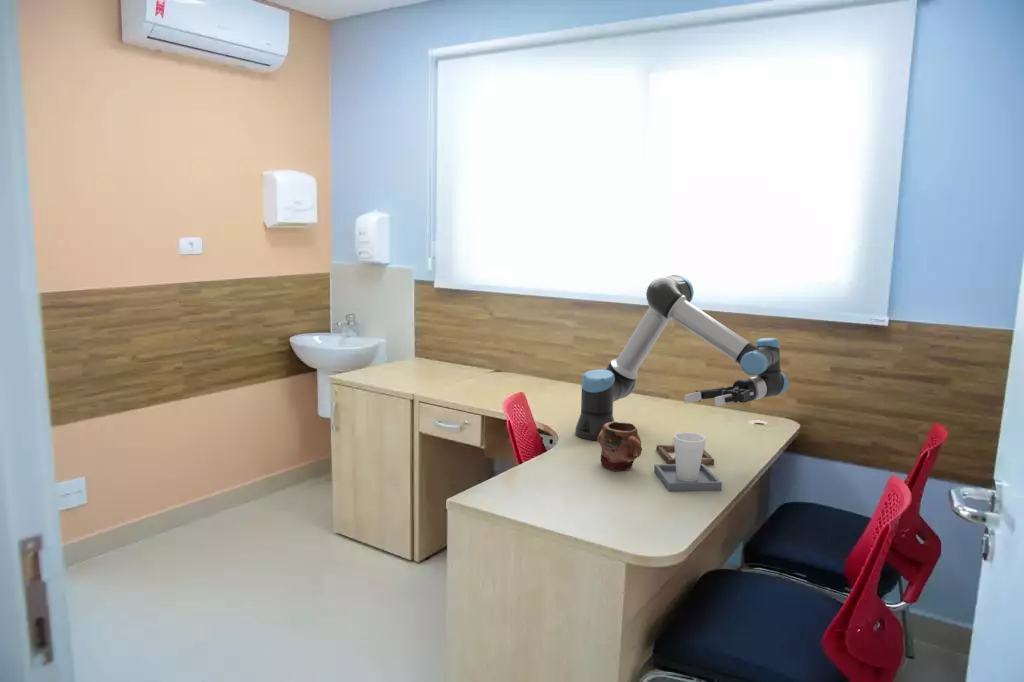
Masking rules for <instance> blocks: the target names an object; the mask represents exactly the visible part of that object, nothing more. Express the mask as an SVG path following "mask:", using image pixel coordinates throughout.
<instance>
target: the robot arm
mask: <svg viewBox="0 0 1024 682" xmlns="http://www.w3.org/2000/svg"><path fill="white" fill-rule="evenodd" d="M645 293H646V294H645V296H646V301H647V305H648V309H647V311H646V312H645V314H644V315H643V317H642V319H641V320H640V321H639V323H638V325H637V326H636V328H635V330H634V331H633V333H632V334H631V336H630V338H629V339H628V341H627V342H626V344H625V345H624V347H623V349H622V351H621V352H620V354H619V356H618V357H617V358H613V359H611V361H609V364H608V366H607V367H606V369H601V368H599V369H598V368H597V369H595V370H594V369H591V370H588V371H586V372H584V373H583V375H582V380H581V384H580V385H581V400H580V402H581V403H580V404H581V405H580V414H579V417H578V420H577V423H576V426H575V435H576V436H577V437H579V438H581V439H585V440H589V441H598V440H597V437H598V435H599V434H600V432H601V430H602V428H603V426H604V424H605V423H609V422H615V418H614V403H615V402H616V401H618V400H621V399H624V398H626V397H627V396H630V394H631V393H632V392H633V391H634V389H635V387H636V380H637V379H638V377H639V373H638V370H639V368H640V367H641V365H642V363H644V361H645V360H646V357H648V354H649V353H650V352H651V350H652V348H653V347H654V345H655V343H656V342H657V340H658V338H659V337H660V336H661V334H662V332H663V331H664V330H665V328H666V327H667V325H668V323H669V321H672V320H673V321H675V322H677V323H678V324H680V325H681V326H682V327H683V328H685V329H687V330H689V332H692V333H693V334H695V335H696V336H698V337H699V338H700V339H702V340H703V341H705V342H706V343H707V344H709V345H711V346H712V347H714V348H715V349H716V350H718V351H719V352H720V353H723V354H724V355H725V356H727V357H728V358H730V359H731V360H733V361H734V362H736V363H737V364H738V365H740V368H741V369H742V371H743V372H744V373H745V374H747V375H748V376H750V377H746V378H742V379H738V380H736V381H734V383H733V384H732V385H731V386H726V387H724V386H722V387H718V388H716V387H715V388H710V389H702V390H695V392H691V393H687V394H684V404H690V403H694V402H701V401H702V400H707V399H714V404H715V407H718V406H719V407H720V406H724V405H728V404H733V403H741V404H744V403H748V402H752V401H754V402H758V400H760V399H765V398H770V397H776V396H778V395H781V394H784V393H785V392H787V390H788V388H789V384H790V383H789V381H790V380H788V377H787V375H786V373H784V372H782V369H781V347H780V341H779V339H778V338H776V337H764V338H763V337H761V338H757V339H756V340H755V345H754V344H752V343H751V342H750V341H748V340H747V339H745V338H743V337H742V336H740V335H739V334H738V333H736V332H734V331H733V330H732V329H730V328H728V327H727V326H726V325H724V324H723V323H721V322H720V321H718V320H716V319H715V318H714V317H712V316H710V315H709V314H707V313H706V312H704V310H701V309H700V308H698V307H696V306H695V305H694V304H693V303H691V302H692V300H693V297H694V288H693V285H692V283H691V282H690V280H689V279H688V278H687V277H684V276H682V275H678V274H676V275H675V274H672V275H669V276H665V277H664V276H663V277H658V278H656V279H654V280H652V281H651V282H650V284H649V285H648V286H647V288H646V291H645Z"/></svg>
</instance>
